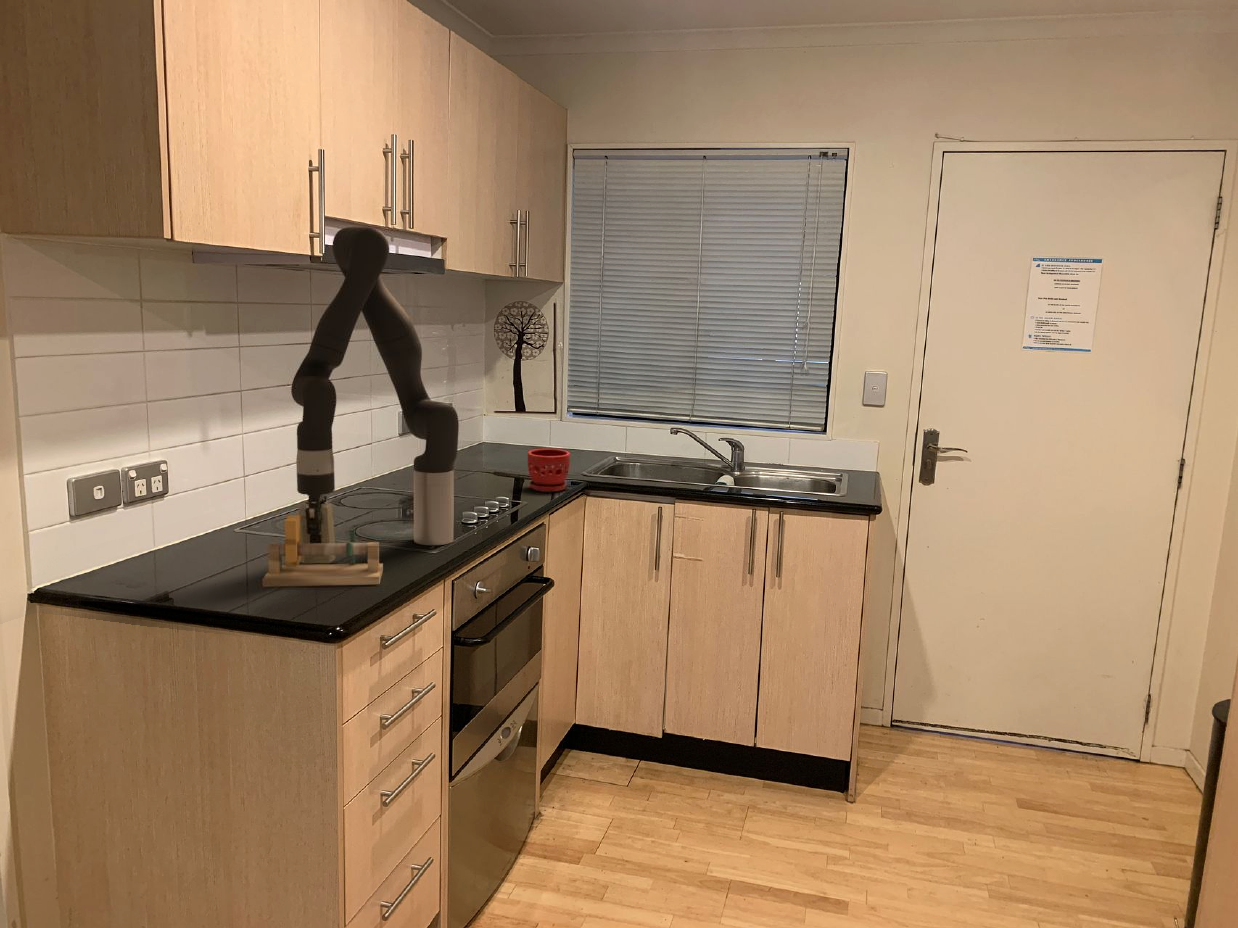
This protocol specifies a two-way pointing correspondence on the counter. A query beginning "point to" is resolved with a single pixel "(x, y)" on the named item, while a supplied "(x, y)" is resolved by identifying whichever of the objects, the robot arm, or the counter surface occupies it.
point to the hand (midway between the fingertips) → (317, 548)
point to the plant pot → (548, 469)
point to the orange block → (292, 540)
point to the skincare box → (326, 534)
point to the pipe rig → (325, 565)
